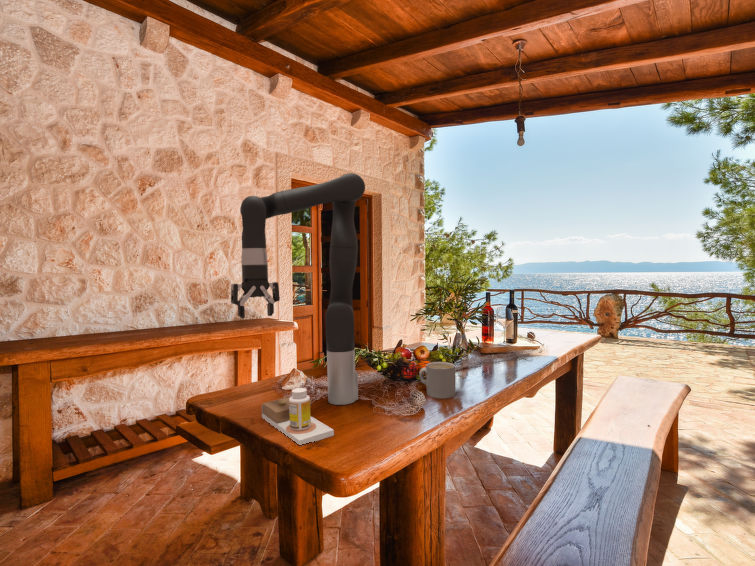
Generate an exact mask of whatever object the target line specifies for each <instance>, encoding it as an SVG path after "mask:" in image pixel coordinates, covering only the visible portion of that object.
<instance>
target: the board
mask: <svg viewBox="0 0 755 566" xmlns="http://www.w3.org/2000/svg"><path fill="white" fill-rule="evenodd" d="M261 418H262V420H264V419H265V420H264V421H266V422H267V423H268V424H269V423H270V425H271V426H272V427H273V426H274V427H273V428H275V429H276V428H277V429H278V430H277V429H276V430H277V431H279V432H280V431H281V432H282V434H283V433H284V434H285V435H286V436H285V435H284V434H283V435H284V436H285V437H287V436H288V437H289V438H291V439H292V440H293V441H295V442H296V443H297V444H299V445H302V444H306V443H309V442H312V443H314V441H315V442H318V441H321V440H324V439H327V438H331V437H334V435H335V430H334V429H333V428H331V427H330V426H328V425H327V424H325V423H323V422H321V421H319V420H318V419H316V418H315V417H314V416H311V426H310V427H309V428H308V429H305V430H301V431H296V430H292V429H291V428H290V420H286V421H283V422H279V423H276V422H274V421H273V420H272V419H270V418H269V417H268V416H266V415H265V414H264V413H263V404H261ZM281 432H280V433H281ZM288 437H287V438H288ZM289 438H288V439H289ZM292 440H291V441H292ZM293 441H292V442H293ZM296 443H295V444H296ZM297 444H296V445H297ZM309 444H310V443H309ZM306 445H307V444H306ZM302 446H303V445H302Z"/></svg>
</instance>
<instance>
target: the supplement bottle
mask: <svg viewBox="0 0 755 566" xmlns="http://www.w3.org/2000/svg"><path fill="white" fill-rule="evenodd" d="M289 398H290V399H289V413H290V428H291V429H292V430H296V431H301V430H305V429H308V428H309V427H310V426H311V417H312V416H311V396H310V395H308V392H307V388H305V387H297V388H293V389H292V390H291V396H290V397H289Z"/></svg>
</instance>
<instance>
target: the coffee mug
mask: <svg viewBox="0 0 755 566" xmlns="http://www.w3.org/2000/svg"><path fill="white" fill-rule="evenodd" d="M418 373H419V376H418V377H419V381H420V382H421V383H422V384H423V385H424V386H426V395H427V396H429V397H430V398H431V397H432V398H433V399H450V398H454V397H455V396H456V385H457V384H456V365H455V364H454V363H451V362H446V361H434V362H429V363H426V365H425V367H422V368H421V369H420V371H419V372H418ZM424 373H426V375H424ZM425 376H426V377H425ZM425 378H426V379H425Z"/></svg>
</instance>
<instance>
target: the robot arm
mask: <svg viewBox="0 0 755 566" xmlns="http://www.w3.org/2000/svg"><path fill="white" fill-rule="evenodd" d="M365 191H366V184H365V181H364V179H363V178H362V177H361V176H360V175H358V174H357V173H354V172H353V173H352V172H347V173H344V174H342V175H340V176H339V177H336V178H334V179H331V180H328V181H324V182H321V183H318V184H317V183H316V184H313V185H308V186H301V187H296V188H289V189H286V190H280V191H276V192H274V193H271V194H270V195H266V196H262V197H259V196H256V195H249V196H246V197H245V198H244V199H243V200H242V202H241V205H240V208H239V214H241V222H242V223H241V225H242V231H241V257H240V259H241V261H240V263H241V279H242V282H241V283H240V284H238V283H232V284H231V287H230V289H231V290H230V303H231V304H232V305H235V306H237V316H238V317H240V319H245V318H246V312H245V308H246V307H245V303H246V302H247V301H248V300H249V299H250V298H256V297H257V298H261V297H262V298H263V299H264V300H265V301H266V302H267V303H266V311H267V314H266V315H267V316H268V317H273V315H274V313H275V308H274V307H275V306H274V305H275V303H277V302H279V301H280V300H281V298H280V297H281V296H280V287H279V282H277V281H272V282H269V270H268V269H269V266H268V265H269V264H268V253H267V238H266V237H267V236H266V223H267V219H270V218H274V217H276V216H281V215H282V216H283V215H286V214H292V213H297V212H300V211H304V210H307V209H310V208H313V207H316V206H319V205H324V204H326V203H332V224H331V232H330V233H331V234H330V245H329V246H330V247H329V277H330V294H329V295H330V296H329V300H328V301H329V302H328V306H327V309H326V312H325V319H324V320H325V321H324V322H325V324H324V325H325V343H326V363H327V364H326V367H327V368H326V369H327V373H326V374H327V400H328V403H329V404H331V405H335V406H337V405H338V406H342V405H343V406H344V405H350V404H353V403H354V402H356V401H357V400H358V401H359V380H358V379H359V377H358V376H359V375H358V371H357V370H356V360H355V357H356V355H355V354H356V353H355V351H356V350H355V314H354V307H353V306H354V305H353V286H354V280H355V274H356V269H357V263H358V249H359V246H358V245H359V243H358V242H359V241H358V236H357V230H356V226H355V207H356V202H357V201H358V200H360V199H361V198H362V197H363V196H364V194H365ZM240 289H241V290H242V291H243V293H242V295H241V296H240V298H239V291H241V290H240ZM268 289H271V290H272V291H271V293H272V296H271V294H270V293H269V291H268ZM238 298H239V299H238Z"/></svg>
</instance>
